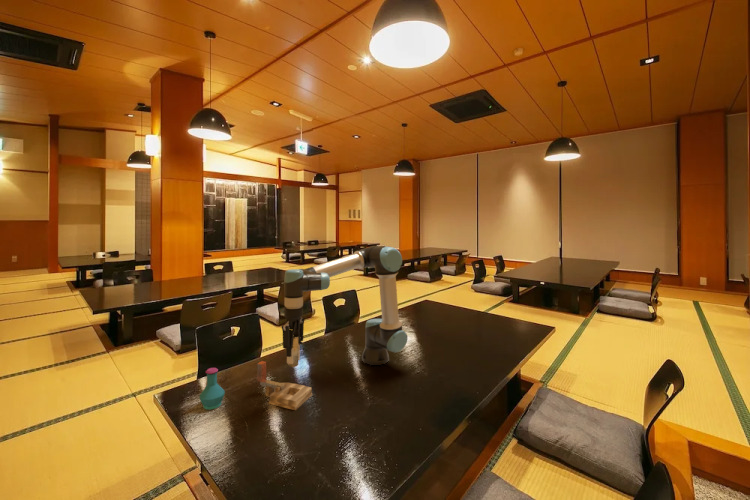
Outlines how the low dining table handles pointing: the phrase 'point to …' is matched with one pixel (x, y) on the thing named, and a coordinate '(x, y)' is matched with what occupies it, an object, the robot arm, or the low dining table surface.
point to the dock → (289, 395)
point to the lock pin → (262, 377)
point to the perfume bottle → (212, 391)
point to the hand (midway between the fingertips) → (293, 361)
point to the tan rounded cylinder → (295, 352)
